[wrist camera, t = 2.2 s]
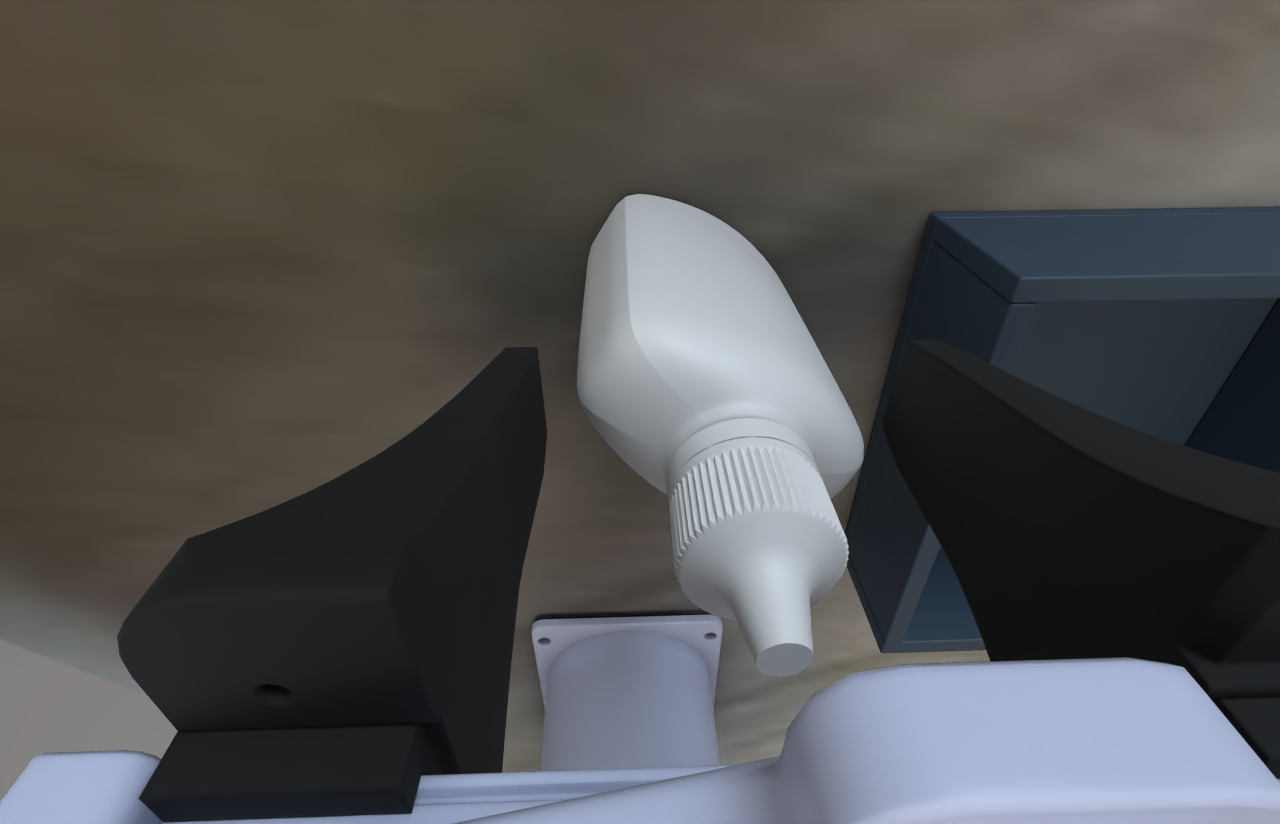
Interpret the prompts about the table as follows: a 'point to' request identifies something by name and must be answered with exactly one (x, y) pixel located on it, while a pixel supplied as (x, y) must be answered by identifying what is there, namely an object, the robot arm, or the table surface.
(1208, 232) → the bin
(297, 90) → the table surface
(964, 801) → the robot arm
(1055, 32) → the table surface
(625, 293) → the eye dropper bottle
